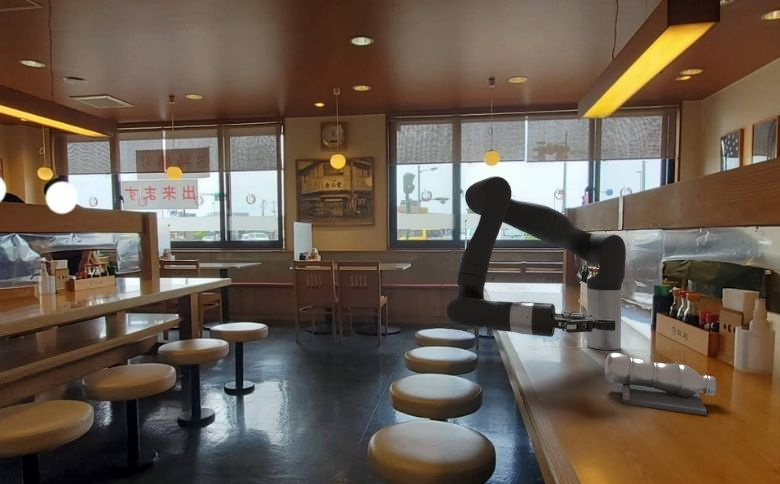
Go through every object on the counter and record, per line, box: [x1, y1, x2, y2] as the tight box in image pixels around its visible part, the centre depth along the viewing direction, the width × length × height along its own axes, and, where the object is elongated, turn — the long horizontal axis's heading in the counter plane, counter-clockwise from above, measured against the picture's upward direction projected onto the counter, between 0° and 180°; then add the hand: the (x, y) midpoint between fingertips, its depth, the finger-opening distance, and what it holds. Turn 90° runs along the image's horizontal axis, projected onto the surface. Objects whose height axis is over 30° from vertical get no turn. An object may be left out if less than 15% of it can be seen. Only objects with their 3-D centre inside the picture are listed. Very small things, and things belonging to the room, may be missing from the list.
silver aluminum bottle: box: [603, 352, 718, 397], centre depth 97 cm, size 6×7×20 cm
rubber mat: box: [622, 384, 708, 416], centre depth 96 cm, size 15×14×2 cm
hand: (615, 325), depth 100 cm, fingers closed
